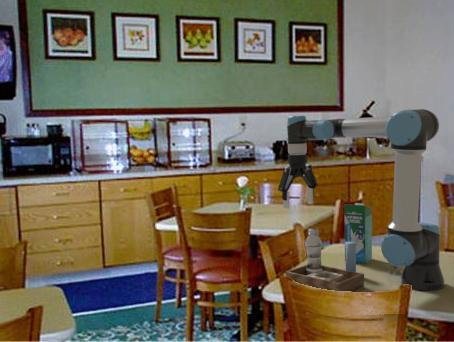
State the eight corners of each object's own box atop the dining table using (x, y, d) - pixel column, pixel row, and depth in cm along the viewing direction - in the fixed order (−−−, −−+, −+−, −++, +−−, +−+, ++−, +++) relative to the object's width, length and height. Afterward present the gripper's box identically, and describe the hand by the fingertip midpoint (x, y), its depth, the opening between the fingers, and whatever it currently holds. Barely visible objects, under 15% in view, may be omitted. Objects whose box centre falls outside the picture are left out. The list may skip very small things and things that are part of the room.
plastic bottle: (318, 283, 221) (316, 231, 219) (302, 280, 226) (301, 229, 223) (326, 278, 226) (325, 228, 224) (311, 276, 231) (310, 226, 228)
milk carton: (372, 258, 254) (371, 202, 251) (365, 263, 246) (364, 205, 244) (352, 256, 259) (351, 200, 256) (344, 261, 251) (344, 204, 249)
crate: (363, 286, 215) (363, 273, 214) (339, 297, 204) (339, 283, 203) (311, 275, 232) (310, 263, 231) (285, 284, 220) (285, 271, 220)
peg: (358, 274, 230) (357, 242, 229) (352, 277, 227) (352, 244, 226) (349, 273, 233) (349, 241, 232) (343, 275, 230) (343, 243, 229)
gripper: (312, 151, 245) (313, 201, 248) (268, 155, 230) (269, 208, 232) (325, 152, 239) (326, 203, 242) (281, 156, 224) (282, 211, 226)
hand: (298, 206), depth 237 cm, fingers open, 13 cm apart
